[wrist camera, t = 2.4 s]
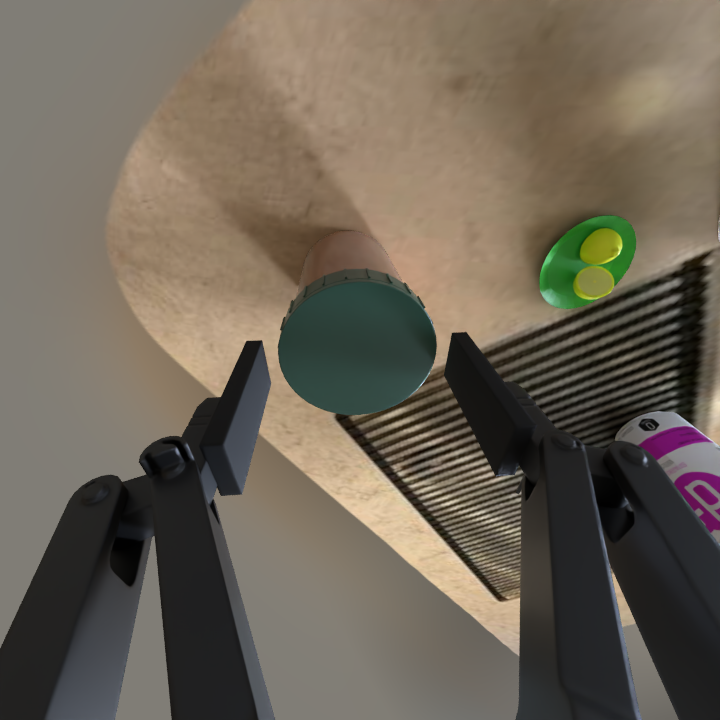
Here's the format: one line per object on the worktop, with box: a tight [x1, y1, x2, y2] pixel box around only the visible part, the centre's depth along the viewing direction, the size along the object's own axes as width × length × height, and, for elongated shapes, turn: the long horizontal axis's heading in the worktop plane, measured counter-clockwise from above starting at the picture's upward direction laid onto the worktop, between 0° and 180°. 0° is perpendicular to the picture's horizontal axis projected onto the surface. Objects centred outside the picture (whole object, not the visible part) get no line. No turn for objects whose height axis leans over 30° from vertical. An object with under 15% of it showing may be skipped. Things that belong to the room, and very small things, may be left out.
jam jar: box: [296, 231, 403, 297], centre depth 21 cm, size 8×8×12 cm
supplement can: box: [615, 411, 720, 545], centre depth 34 cm, size 8×8×15 cm
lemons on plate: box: [539, 215, 636, 309], centre depth 25 cm, size 8×8×3 cm
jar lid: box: [278, 268, 437, 415], centre depth 17 cm, size 8×8×2 cm
